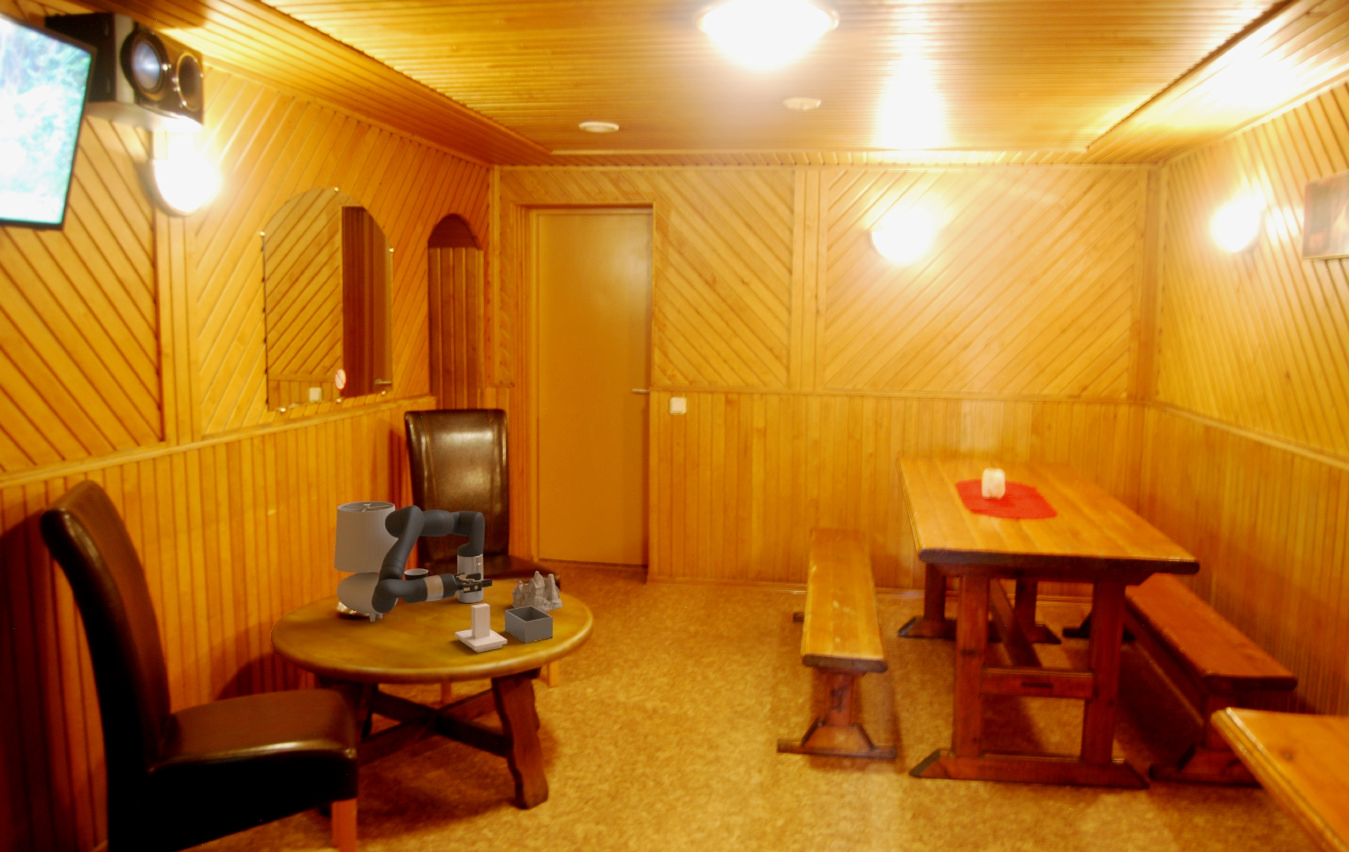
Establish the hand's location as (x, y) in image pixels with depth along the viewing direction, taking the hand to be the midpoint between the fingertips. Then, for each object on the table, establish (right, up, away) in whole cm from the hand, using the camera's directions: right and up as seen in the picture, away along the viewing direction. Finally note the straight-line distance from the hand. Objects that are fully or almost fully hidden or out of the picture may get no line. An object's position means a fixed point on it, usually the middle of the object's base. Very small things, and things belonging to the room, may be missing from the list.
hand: (486, 579), depth 300 cm
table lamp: (-46, -18, +26) cm, 56 cm away
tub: (+12, -20, +11) cm, 26 cm away
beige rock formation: (+10, -17, +42) cm, 46 cm away
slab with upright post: (-2, -21, +1) cm, 21 cm away
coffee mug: (-35, -16, +48) cm, 62 cm away
